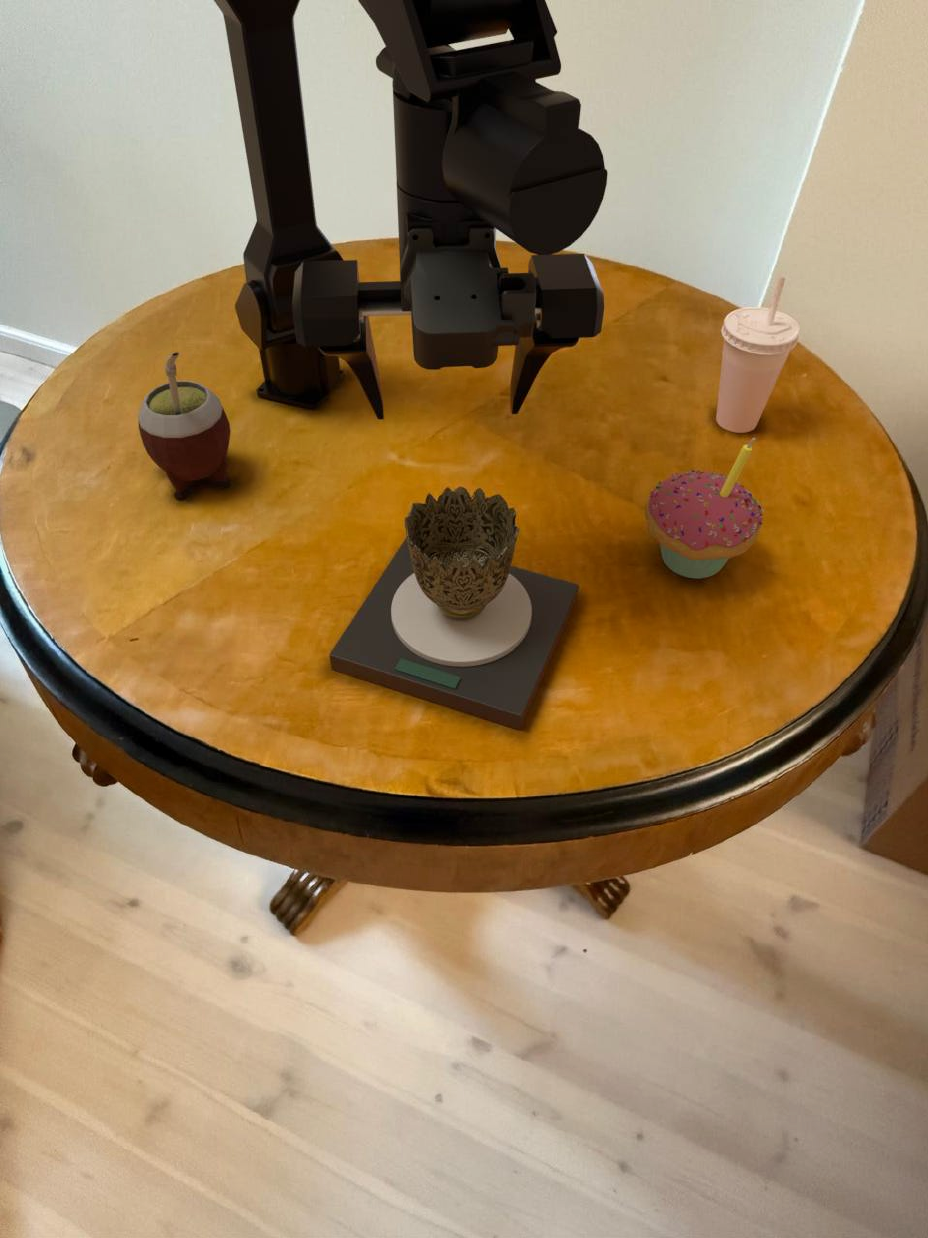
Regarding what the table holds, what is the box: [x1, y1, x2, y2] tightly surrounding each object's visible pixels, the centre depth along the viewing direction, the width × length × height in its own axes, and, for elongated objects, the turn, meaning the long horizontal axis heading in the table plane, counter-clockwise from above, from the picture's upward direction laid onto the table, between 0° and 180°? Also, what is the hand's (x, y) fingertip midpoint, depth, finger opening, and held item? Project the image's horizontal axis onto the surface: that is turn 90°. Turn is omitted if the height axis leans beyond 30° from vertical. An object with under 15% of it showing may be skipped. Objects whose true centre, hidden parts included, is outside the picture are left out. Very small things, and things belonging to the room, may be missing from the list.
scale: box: [328, 538, 580, 731], centre depth 64 cm, size 14×13×2 cm
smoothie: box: [715, 274, 801, 434], centre depth 78 cm, size 6×6×14 cm
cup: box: [404, 486, 520, 621], centre depth 61 cm, size 8×7×8 cm
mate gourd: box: [137, 351, 232, 501], centre depth 71 cm, size 8×8×15 cm
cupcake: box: [644, 437, 765, 580], centre depth 66 cm, size 9×8×12 cm
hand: (447, 413), depth 62 cm, fingers open, 9 cm apart
